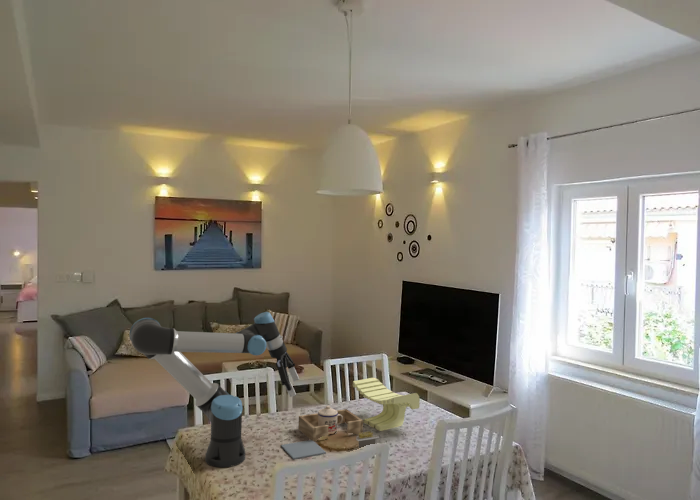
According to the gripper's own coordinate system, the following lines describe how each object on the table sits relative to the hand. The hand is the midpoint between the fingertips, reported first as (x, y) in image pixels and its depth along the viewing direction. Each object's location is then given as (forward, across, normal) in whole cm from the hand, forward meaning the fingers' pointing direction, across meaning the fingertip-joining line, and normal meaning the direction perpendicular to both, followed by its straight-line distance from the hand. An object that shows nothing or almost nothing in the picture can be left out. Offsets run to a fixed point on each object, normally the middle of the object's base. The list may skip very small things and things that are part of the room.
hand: (294, 387), depth 225 cm
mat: (+18, -20, +1) cm, 27 cm away
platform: (+30, -16, -22) cm, 40 cm away
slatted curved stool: (+39, +13, -28) cm, 50 cm away
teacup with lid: (+26, +1, -6) cm, 27 cm away
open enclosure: (+26, +1, -6) cm, 27 cm away
